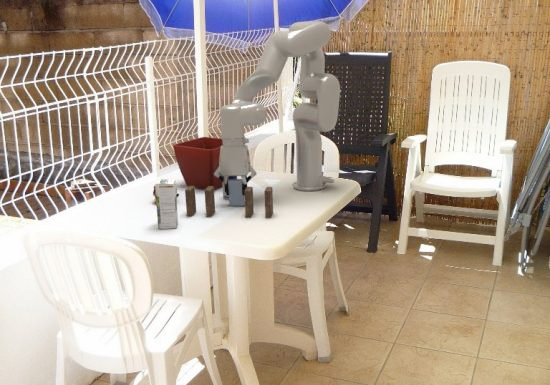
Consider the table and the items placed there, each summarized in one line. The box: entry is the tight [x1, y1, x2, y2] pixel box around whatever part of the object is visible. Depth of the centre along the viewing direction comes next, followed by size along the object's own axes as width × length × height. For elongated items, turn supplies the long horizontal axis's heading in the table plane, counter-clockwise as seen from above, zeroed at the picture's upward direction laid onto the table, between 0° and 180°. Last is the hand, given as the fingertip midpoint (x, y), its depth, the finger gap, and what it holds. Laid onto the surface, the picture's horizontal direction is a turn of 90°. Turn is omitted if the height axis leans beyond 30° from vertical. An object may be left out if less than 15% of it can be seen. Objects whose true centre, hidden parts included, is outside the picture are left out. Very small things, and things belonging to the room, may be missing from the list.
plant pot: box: [172, 136, 223, 191], centre depth 227 cm, size 19×19×17 cm
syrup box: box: [154, 178, 179, 230], centre depth 182 cm, size 6×6×14 cm
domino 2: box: [204, 186, 216, 218], centre depth 193 cm, size 2×5×9 cm, turn 172°
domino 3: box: [228, 178, 245, 207], centre depth 201 cm, size 2×5×9 cm, turn 82°
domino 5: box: [264, 186, 274, 219], centre depth 190 cm, size 2×5×9 cm, turn 172°
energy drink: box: [222, 176, 238, 201], centre depth 210 cm, size 5×5×12 cm
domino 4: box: [244, 186, 255, 219], centre depth 191 cm, size 2×5×9 cm, turn 172°
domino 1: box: [184, 186, 197, 218], centre depth 194 cm, size 2×5×9 cm, turn 172°
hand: (236, 194), depth 201 cm, fingers closed on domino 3, 4 cm apart
